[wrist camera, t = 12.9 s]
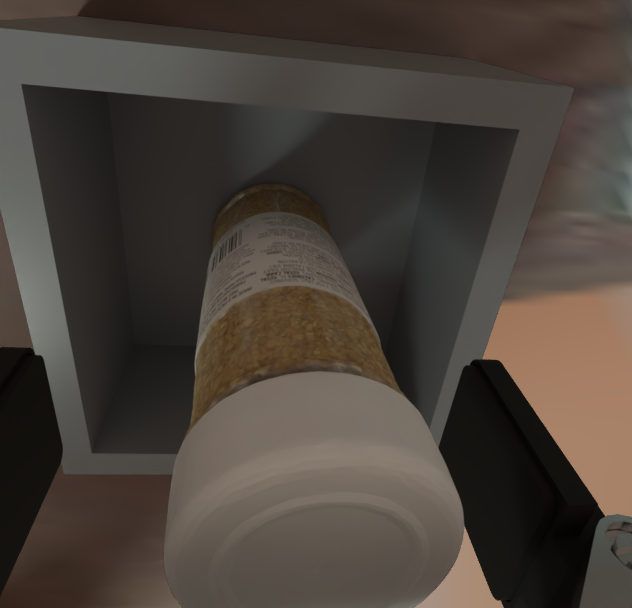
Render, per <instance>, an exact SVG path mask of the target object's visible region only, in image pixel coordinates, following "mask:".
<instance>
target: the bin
mask: <svg viewBox="0 0 632 608" xmlns="http://www.w3.org/2000/svg"><path fill="white" fill-rule="evenodd" d="M574 89H575V88H574V87H570V86H566V85H563V84H559V83H555V82H552V81H548V80H544V79H541V78H537V77H534V76H530V75H526V74H523V73H519V72H515V71H512V70H508V69H504V68H501V67H497V66H493V65H490V64H486V63H482V62H479V61H475V60H472V59H467V58H458V57H449V56H439V55H430V54H421V53H412V52H403V51H394V50H384V49H375V48H366V47H357V46H348V45H339V44H329V43H320V42H311V41H302V40H293V39H283V38H274V37H265V36H256V35H247V34H238V33H228V32H219V31H210V30H201V29H192V28H182V27H173V26H164V25H155V24H146V23H137V22H127V21H118V20H109V19H100V18H91V17H82V16H66V17H50V18H33V19H17V20H1V21H0V210H1V214H2V218H3V222H4V226H5V231H6V235H7V239H8V243H9V247H10V251H11V256H12V260H13V264H14V268H15V272H16V276H17V281H18V285H19V289H20V293H21V297H22V302H23V306H24V310H25V314H26V318H27V322H28V327H29V331H30V335H31V339H32V343H33V347H34V352H35V355H41V356H42V357H43V359H44V362H45V367H46V372H47V376H48V381H49V385H50V390H51V394H52V399H53V403H54V408H55V413H56V417H57V422H58V426H59V431H60V435H61V440H62V444H63V455H62V460H61V464H62V468H63V473H64V474H77V475H172V474H173V469H174V464H175V460H176V457H177V454H178V452H179V450H180V448H181V445H182V443H183V440H184V437H185V435H186V433H187V431H188V429H189V427H190V422H191V416H192V411H193V396H194V385H195V378H196V376H195V355H196V347H197V340H198V333H199V325H200V316H201V310H202V304H203V297H204V291H205V285H206V277H207V270H208V265H209V260H210V257H211V254H212V247H211V233H212V230H213V225H214V221H215V219H216V216H217V215H218V214H219V213H220V211H221V210H222V208H223V206H224V205H225V204H226V203H227V202H228V201H229V200H230V199H231V198H232V197H233V196H234V195H235V194H237V193H239V192H240V191H242V190H244V189H247V188H249V187H251V186H255V185H260V184H265V183H281V184H284V185H288V186H291V187H294V188H297V189H299V190H300V191H302V192H303V193H305V194H307V195H308V196H310V198H311V199H312V200H313V201H314V202H316V203H317V204H318V205H319V206H320V208H321V209H322V211H323V213H324V216H325V218H326V220H327V222H328V225H329V229H330V235H331V237H332V239H333V240H334V241H335V243H336V245H337V247H338V249H339V251H340V253H341V255H342V257H343V259H344V261H345V264H346V266H347V268H348V270H349V272H350V274H351V276H352V278H353V281H354V283H355V285H356V287H357V290H358V292H359V294H360V297H361V299H362V301H363V303H364V305H365V307H366V310H367V312H368V314H369V316H370V318H371V320H372V323H373V325H374V327H375V329H376V332H377V334H378V336H379V339H380V344H381V348H382V350H383V354H384V356H385V358H386V360H387V363H388V365H389V367H390V369H391V371H392V373H393V375H394V379H395V381H396V383H397V385H398V387H399V389H400V391H401V392H402V393H404V395H405V396H406V397H407V399H408V400H409V401H410V402H411V403H412V404H413V405H414V406H415V408H416V409H417V410H418V411H419V412H420V414H421V415H422V417H423V419H424V421H425V422H426V424H427V426H428V428H429V430H430V432H431V434H432V436H433V438H434V440H435V443H436V445H437V447H438V448H439V444H440V441H441V437H442V434H443V431H444V428H445V424H446V421H447V418H448V415H449V412H450V408H451V405H452V402H453V399H454V395H455V392H456V389H457V386H458V383H459V379H460V376H461V373H462V370H463V368H464V366H466V365H470V363H471V362H472V360H475V359H482V358H483V355H484V352H485V349H486V346H487V343H488V340H489V337H490V334H491V331H492V328H493V325H494V323H495V320H496V317H497V314H498V311H499V308H500V305H501V302H502V299H503V296H504V293H505V291H506V288H507V285H508V282H509V279H510V276H511V273H512V270H513V267H514V264H515V261H516V258H517V256H518V253H519V250H520V247H521V244H522V241H523V238H524V235H525V232H526V229H527V226H528V223H529V220H530V218H531V215H532V212H533V209H534V206H535V203H536V200H537V197H538V194H539V191H540V188H541V185H542V182H543V180H544V177H545V174H546V171H547V168H548V165H549V162H550V159H551V156H552V153H553V150H554V147H555V144H556V142H557V139H558V136H559V133H560V130H561V127H562V124H563V121H564V118H565V115H566V112H567V109H568V106H569V104H570V101H571V98H572V95H573V92H574Z"/></svg>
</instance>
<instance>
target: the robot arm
mask: <svg viewBox="0 0 632 608" xmlns="http://www.w3.org/2000/svg"><path fill="white" fill-rule="evenodd" d="M438 449H439V451H440V453H441V455H442V457H443V459H444V461H445V463H446V466H447V468H448V471H449V473H450V475H451V478H452V480H453V483H454V485H455V487H456V490H457V492H458V495H459V497H460V500H461V504H462V507H463V515H464V525H465V528H466V530H467V533H468V535H469V538H470V540H471V543H472V545H473V548H474V551H475V553H476V556H477V558H478V561H479V563H480V566H481V568H482V571H483V573H484V576H485V578H486V581H487V584H488V586H489V588H490V591H491V593H492V595H493V597H494V598H495V599H496V600H501V602H502V604H503V607H504V608H632V517H630V516H624V515H619V514H616V515H607V516H605V515H604V514H603V512H602V511H601V509H600V508H599V507H598V504H597V502H596V501H595V499H594V498H593V497H592V495H591V493H590V492H589V491H588V489H587V487H586V486H585V485H584V483H583V482H582V480H581V479H580V477H579V476H578V474H577V473H576V471H575V470H574V468H573V467H572V465H571V464H570V463H569V461H568V460H567V458H566V457H565V455H564V454H563V452H562V451H561V449H560V448H559V446H558V445H557V444H556V442H555V441H554V439H553V438H552V436H551V435H550V433H549V432H548V430H547V429H546V427H545V426H544V424H543V423H542V422H541V420H540V419H539V417H538V416H537V414H536V413H535V411H534V410H533V408H532V407H531V405H530V404H529V403H528V401H527V400H526V398H525V397H524V395H523V394H522V392H521V391H520V389H519V388H518V386H517V385H516V384H515V382H514V381H513V379H512V378H511V376H510V375H509V373H508V372H507V370H506V369H505V368H504V366H503V364H502V363H501V362H500V361H498V360H483V359H475V360H472V362H471V363H470V365H466V366H464V368H463V370H462V373H461V376H460V379H459V383H458V386H457V389H456V392H455V395H454V399H453V402H452V405H451V408H450V412H449V415H448V418H447V421H446V424H445V428H444V431H443V434H442V437H441V441H440V444H439V448H438ZM62 455H63V444H62V440H61V435H60V431H59V426H58V422H57V417H56V413H55V408H54V403H53V399H52V394H51V390H50V385H49V381H48V376H47V372H46V367H45V362H44V359H43V357H42V356H41V355H35V352H34V351H33V349H31V348H14V347H1V348H0V596H1V594H2V591H3V589H4V587H5V585H6V583H7V580H8V578H9V576H10V574H11V571H12V569H13V567H14V565H15V563H16V560H17V558H18V556H19V554H20V552H21V549H22V547H23V545H24V543H25V540H26V538H27V536H28V534H29V532H30V529H31V527H32V525H33V523H34V521H35V518H36V516H37V514H38V512H39V509H40V507H41V505H42V503H43V501H44V498H45V496H46V494H47V492H48V490H49V487H50V485H51V483H52V481H53V479H54V476H55V474H56V472H57V470H58V467H59V465H60V463H61V460H62Z"/></svg>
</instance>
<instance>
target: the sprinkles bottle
mask: <svg viewBox="0 0 632 608" xmlns="http://www.w3.org/2000/svg"><path fill="white" fill-rule="evenodd" d="M211 247H212V254H211V257H210V260H209V265H208V270H207V277H206V285H205V291H204V297H203V304H202V310H201V316H200V325H199V333H198V340H197V347H196V355H195V376H196V378H195V385H194V396H193V411H192V416H191V422H190V427H189V429H188V431H187V433H186V435H185V437H184V440H183V443H182V445H181V448H180V450H179V452H178V454H177V457H176V460H175V464H174V469H173V474H172V481H171V488H170V495H169V504H168V512H167V520H166V531H165V541H164V569H165V575H166V579H167V582H168V584H169V587H170V589H171V591H172V594H173V596H174V597H175V598H176V600H177V601H178V602H179V604H180V605H181V606H182V608H414V607H416V606H417V605H418V604H420V603H421V602H422V601H424V600H425V599H426V598H427V597H428V596H429V595H430V594H431V593H432V592H433V591H434V590H435V589H436V588H437V587H438V586H439V584H440V583H441V582H442V581H443V580H444V578H445V577H446V576H447V574H448V573H449V571H450V570H451V568H452V567H453V565H454V563H455V561H456V559H457V557H458V554H459V551H460V548H461V544H462V540H463V534H464V515H463V507H462V504H461V500H460V497H459V495H458V492H457V490H456V487H455V485H454V483H453V480H452V478H451V475H450V473H449V471H448V468H447V466H446V463H445V461H444V459H443V457H442V455H441V453H440V451H439V449H438V447H437V445H436V443H435V440H434V438H433V436H432V434H431V432H430V430H429V428H428V426H427V424H426V422H425V421H424V419H423V417H422V415H421V414H420V412H419V411H418V410H417V409H416V408H415V406H414V405H413V404H412V403H411V402H410V401H409V400H408V399H407V397H406V396H405V395H404V393H402V392H401V391H400V389H399V387H398V385H397V383H396V381H395V379H394V375H393V373H392V371H391V369H390V367H389V365H388V363H387V360H386V358H385V356H384V354H383V350H382V348H381V344H380V339H379V336H378V334H377V332H376V329H375V327H374V325H373V323H372V320H371V318H370V316H369V314H368V312H367V310H366V307H365V305H364V303H363V301H362V299H361V297H360V294H359V292H358V290H357V287H356V285H355V283H354V281H353V278H352V276H351V274H350V272H349V270H348V268H347V266H346V264H345V261H344V259H343V257H342V255H341V253H340V251H339V249H338V247H337V245H336V243H335V241H334V240H333V239H332V237H331V235H330V229H329V225H328V222H327V220H326V218H325V216H324V213H323V211H322V209H321V208H320V206H319V205H318V204H317V203H316V202H314V201H313V200H312V199H311V198H310V196H308V195H307V194H305V193H303V192H302V191H300V190H299V189H297V188H294V187H291V186H288V185H284V184H281V183H265V184H260V185H255V186H251V187H249V188H247V189H244V190H242V191H240V192H239V193H237V194H235V195H234V196H233V197H232V198H231V199H230V200H229V201H228V202H227V203H226V204H225V205H224V206H223V208H222V210H221V211H220V213H219V214H218V215H217V216H216V219H215V221H214V225H213V230H212V233H211Z"/></svg>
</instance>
